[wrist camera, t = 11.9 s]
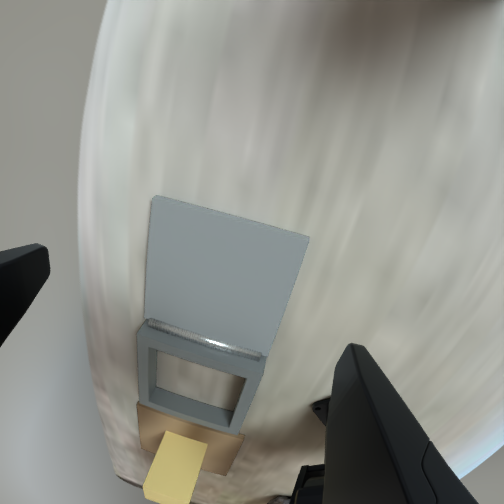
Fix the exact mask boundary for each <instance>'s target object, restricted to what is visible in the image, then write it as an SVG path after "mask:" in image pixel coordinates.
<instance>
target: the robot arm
mask: <svg viewBox="0 0 504 504" xmlns="http://www.w3.org/2000/svg"><path fill="white" fill-rule="evenodd" d="M49 275H50V262H49V254H48V249H47V248H46V247H45V246H43V245H40V244H38V243H35V244H30V245H26V246H22V247H18V248H13V249H9V250H5V251H1V252H0V347H1V346H2V344H3V343H4V341H5V340H6V338H7V337H8V336H9V334H10V333H11V332H12V330H13V329H14V327H15V326H16V325H17V323H18V322H19V321H20V319H21V318H22V317H23V315H24V314H25V313H26V311H27V309H28V308H29V306H30V305H31V303H32V302H33V300H34V299H35V297H36V295H37V294H38V292H39V291H40V289H41V288H42V286H43V285H44V283H45V282H46V280H47V279H48V277H49ZM312 409H313V411H314V412H315V414H316V415H317V416H318V418H319V419H320V420H321V421H322V423H323V424H324V425H325V426H326V436H325V459H324V464H320V465H313V466H309V465H305V466H302V467H301V470H300V473H299V475H298V478H297V481H296V484H295V487H294V490H293V493H292V496H291V499H290V502H289V504H478V502H477V501H476V500H475V499H474V497H473V496H472V495H471V494H470V492H469V491H468V490H467V489H466V487H465V486H464V485H463V484H462V482H461V481H460V480H459V479H458V477H457V476H456V475H455V474H454V472H453V471H452V470H451V468H450V467H449V466H448V464H447V463H446V462H445V460H444V459H443V457H442V456H441V454H440V453H439V452H438V450H437V449H436V447H435V446H434V444H433V443H432V441H429V440H430V439H429V437H428V436H427V434H426V433H425V431H424V430H423V428H422V427H421V425H420V424H419V422H418V421H417V420H416V418H415V417H414V415H413V414H412V412H411V411H410V410H409V408H408V407H407V405H406V404H405V402H404V401H403V400H402V398H401V397H400V395H399V394H398V392H397V391H396V390H395V388H394V387H393V385H392V384H391V383H390V381H389V380H388V378H387V377H386V376H385V374H384V373H383V371H382V370H381V369H380V367H379V366H378V364H377V363H376V362H375V360H374V359H373V357H372V356H371V355H370V353H369V352H368V351H367V349H366V348H365V347H364V346H362V345H358V344H354V343H350V344H348V345H347V347H346V348H345V350H344V352H343V354H342V356H341V357H340V359H339V361H338V362H337V365H336V367H335V371H334V379H333V386H332V393H331V399H327V400H323V401H320V402H316V403H314V404H313V406H312Z"/></svg>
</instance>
